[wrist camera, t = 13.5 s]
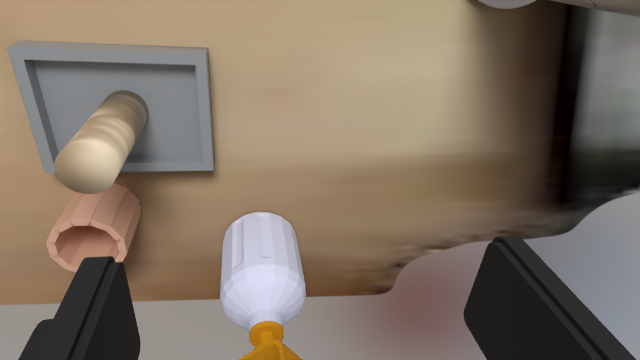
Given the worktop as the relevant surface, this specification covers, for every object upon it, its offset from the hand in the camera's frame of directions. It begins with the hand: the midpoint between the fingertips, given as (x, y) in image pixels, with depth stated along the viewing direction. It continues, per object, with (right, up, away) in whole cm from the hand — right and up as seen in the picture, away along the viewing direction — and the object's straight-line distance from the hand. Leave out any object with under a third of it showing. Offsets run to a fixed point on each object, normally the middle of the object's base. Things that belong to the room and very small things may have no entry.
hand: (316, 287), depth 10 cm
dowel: (-19, +10, +29) cm, 36 cm away
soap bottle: (-8, -5, +41) cm, 42 cm away
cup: (-24, 0, +35) cm, 42 cm away
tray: (-19, +10, +30) cm, 37 cm away
